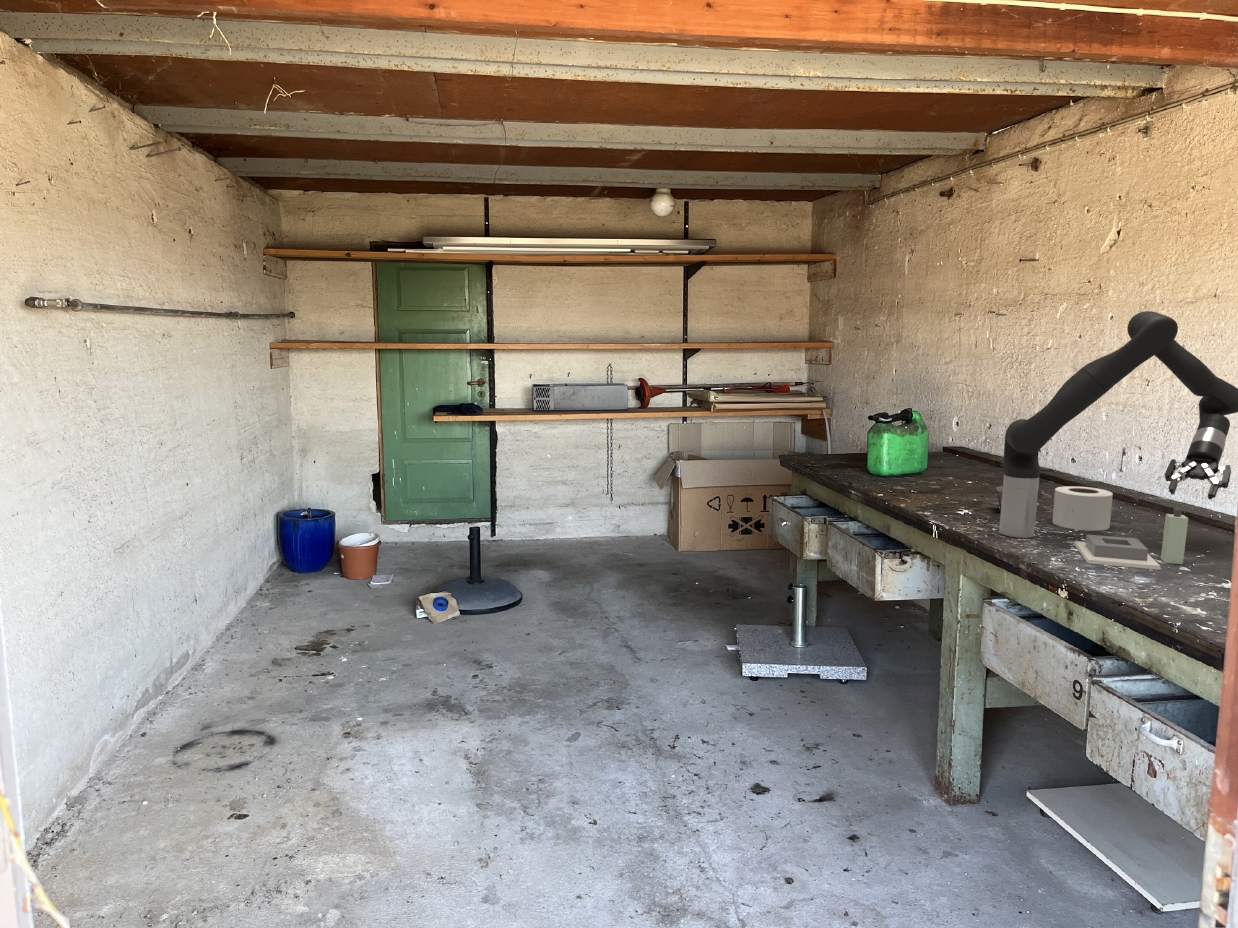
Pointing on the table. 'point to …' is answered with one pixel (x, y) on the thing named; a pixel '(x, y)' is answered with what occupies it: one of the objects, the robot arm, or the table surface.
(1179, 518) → the plug
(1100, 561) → the plate
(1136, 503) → the table surface
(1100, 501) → the roll of tape
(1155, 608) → the table surface
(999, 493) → the electrical switch
